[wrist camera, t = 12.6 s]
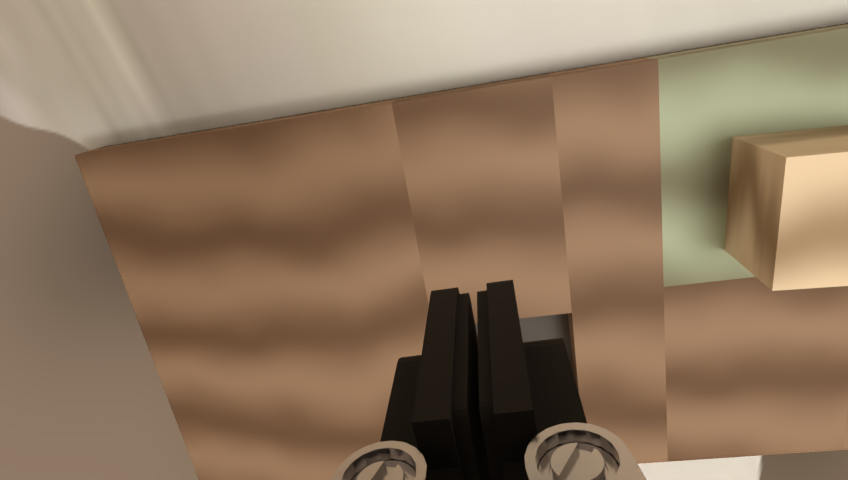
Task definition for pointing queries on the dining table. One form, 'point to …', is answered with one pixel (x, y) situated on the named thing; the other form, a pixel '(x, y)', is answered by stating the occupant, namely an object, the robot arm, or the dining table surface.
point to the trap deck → (483, 256)
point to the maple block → (790, 207)
